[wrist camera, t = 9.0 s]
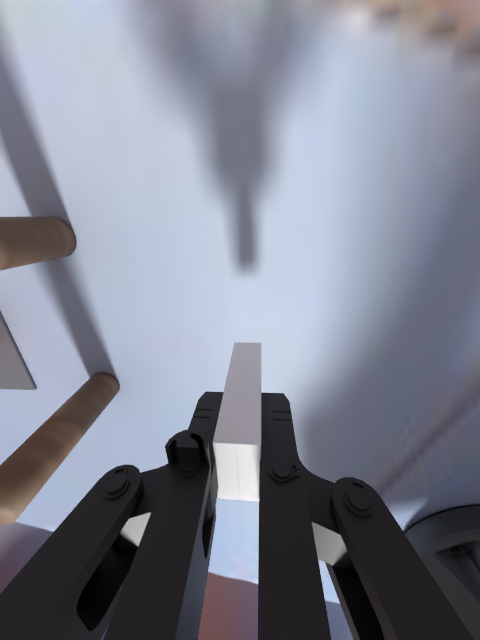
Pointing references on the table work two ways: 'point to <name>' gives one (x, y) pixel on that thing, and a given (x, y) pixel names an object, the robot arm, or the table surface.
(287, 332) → the table surface
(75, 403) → the post
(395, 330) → the table surface
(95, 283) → the table surface
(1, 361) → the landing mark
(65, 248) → the post
